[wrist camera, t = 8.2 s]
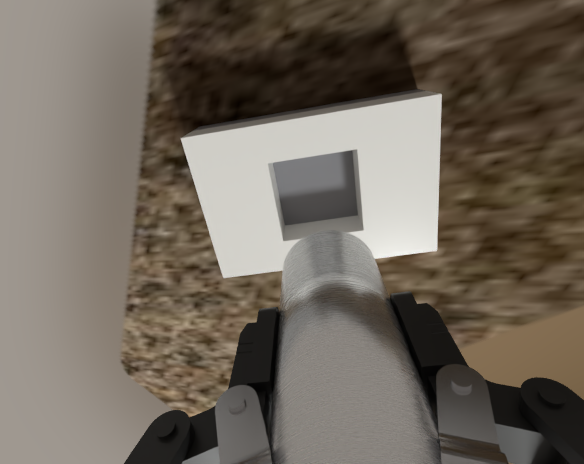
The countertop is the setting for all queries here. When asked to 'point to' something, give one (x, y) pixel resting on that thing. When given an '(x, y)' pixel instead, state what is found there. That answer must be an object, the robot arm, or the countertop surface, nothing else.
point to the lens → (344, 364)
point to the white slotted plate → (320, 178)
